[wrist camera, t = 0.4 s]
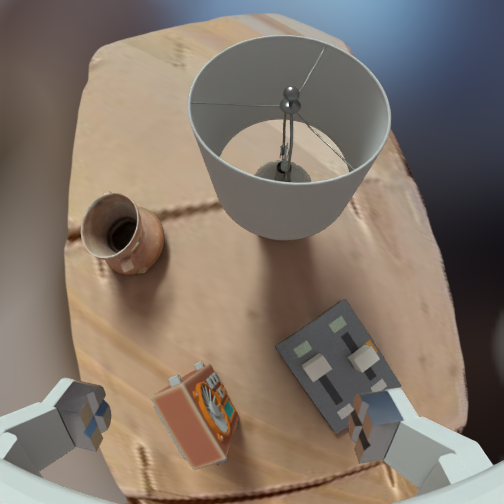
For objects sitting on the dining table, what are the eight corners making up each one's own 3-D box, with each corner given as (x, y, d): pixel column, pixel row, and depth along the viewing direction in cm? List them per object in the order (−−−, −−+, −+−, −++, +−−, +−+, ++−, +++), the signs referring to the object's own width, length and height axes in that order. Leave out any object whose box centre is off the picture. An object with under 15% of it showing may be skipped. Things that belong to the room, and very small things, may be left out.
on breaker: (327, 365, 54) (332, 368, 50) (309, 377, 54) (313, 382, 50) (318, 353, 55) (323, 355, 51) (301, 365, 54) (303, 368, 50)
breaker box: (395, 383, 56) (401, 386, 53) (333, 429, 54) (336, 434, 51) (341, 299, 60) (345, 298, 57) (275, 346, 59) (275, 347, 56)
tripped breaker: (372, 356, 54) (379, 359, 50) (355, 369, 54) (362, 372, 49) (364, 344, 55) (371, 346, 50) (347, 357, 54) (353, 359, 50)
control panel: (210, 356, 59) (245, 420, 56) (180, 370, 58) (215, 432, 55) (182, 372, 38) (235, 464, 35) (140, 391, 38) (192, 479, 34)
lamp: (330, 264, 62) (415, 182, 24) (230, 268, 63) (178, 187, 25) (321, 173, 66) (365, 35, 29) (229, 176, 67) (194, 36, 29)
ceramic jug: (179, 265, 63) (157, 250, 49) (120, 292, 63) (87, 283, 49) (153, 193, 67) (129, 164, 53) (100, 220, 66) (67, 198, 53)
